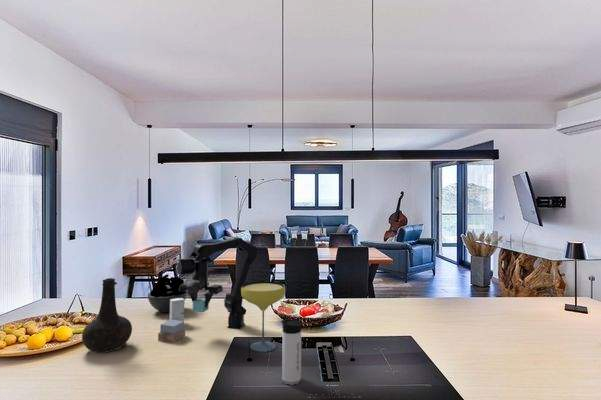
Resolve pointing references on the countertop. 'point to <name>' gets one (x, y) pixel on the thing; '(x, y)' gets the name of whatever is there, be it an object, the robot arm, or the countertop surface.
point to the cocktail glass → (263, 304)
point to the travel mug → (291, 352)
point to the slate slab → (172, 327)
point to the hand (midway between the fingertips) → (200, 307)
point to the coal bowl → (166, 293)
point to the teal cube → (199, 305)
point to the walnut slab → (171, 336)
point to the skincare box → (177, 309)
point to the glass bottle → (107, 324)
